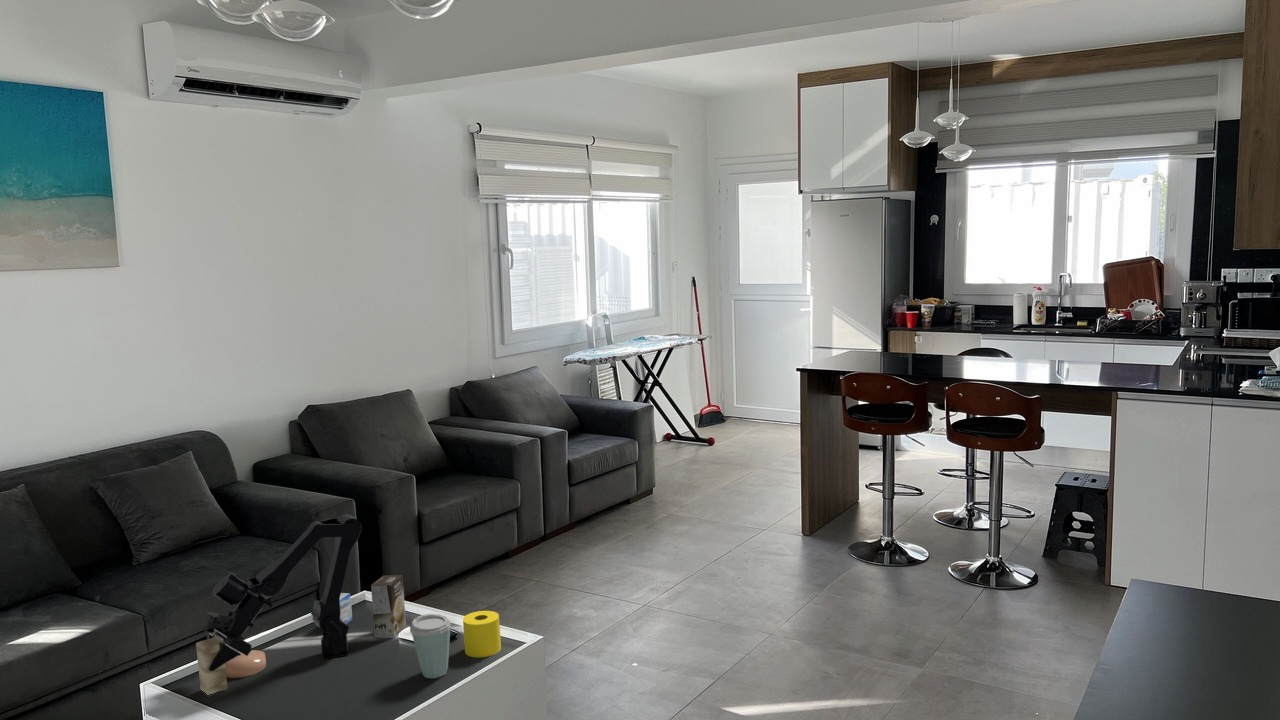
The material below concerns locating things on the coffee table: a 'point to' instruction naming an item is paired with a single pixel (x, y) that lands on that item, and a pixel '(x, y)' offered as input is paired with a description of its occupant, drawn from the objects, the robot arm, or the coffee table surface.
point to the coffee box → (388, 606)
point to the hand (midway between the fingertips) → (206, 667)
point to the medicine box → (345, 608)
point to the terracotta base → (245, 664)
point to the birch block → (206, 655)
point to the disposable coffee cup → (432, 643)
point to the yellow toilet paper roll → (482, 633)
